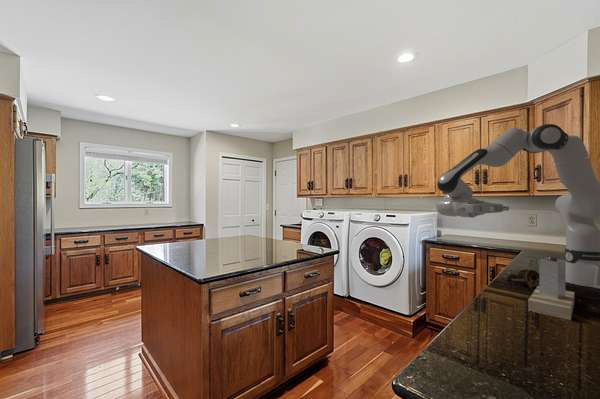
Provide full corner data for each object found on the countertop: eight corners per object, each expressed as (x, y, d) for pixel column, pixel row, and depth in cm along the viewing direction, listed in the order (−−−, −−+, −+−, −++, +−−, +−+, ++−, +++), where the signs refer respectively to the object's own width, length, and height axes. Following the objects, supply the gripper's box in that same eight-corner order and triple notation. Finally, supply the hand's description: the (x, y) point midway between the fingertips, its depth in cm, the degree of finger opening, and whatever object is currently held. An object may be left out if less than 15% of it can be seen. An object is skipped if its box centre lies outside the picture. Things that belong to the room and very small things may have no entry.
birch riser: (537, 295, 109) (537, 285, 109) (574, 302, 101) (574, 291, 101) (528, 311, 93) (528, 300, 93) (570, 320, 86) (570, 308, 86)
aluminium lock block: (547, 292, 101) (547, 255, 101) (565, 297, 96) (565, 257, 96) (539, 294, 98) (539, 256, 98) (557, 299, 94) (557, 258, 94)
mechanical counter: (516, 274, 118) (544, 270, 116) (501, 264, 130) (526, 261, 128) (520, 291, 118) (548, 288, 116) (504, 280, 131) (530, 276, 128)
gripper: (454, 201, 129) (485, 201, 116) (483, 200, 137) (515, 201, 125) (454, 215, 129) (485, 216, 116) (483, 214, 137) (515, 215, 125)
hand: (501, 208), depth 121 cm, fingers open, 8 cm apart
